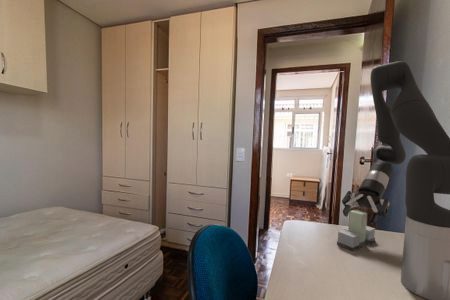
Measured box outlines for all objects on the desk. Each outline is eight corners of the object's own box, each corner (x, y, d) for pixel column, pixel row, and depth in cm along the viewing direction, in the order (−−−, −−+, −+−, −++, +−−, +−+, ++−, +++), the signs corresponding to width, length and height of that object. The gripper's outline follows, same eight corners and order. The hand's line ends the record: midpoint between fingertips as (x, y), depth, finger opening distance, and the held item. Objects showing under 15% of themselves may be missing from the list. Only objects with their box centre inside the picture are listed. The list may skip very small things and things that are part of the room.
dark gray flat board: (374, 240, 81) (375, 238, 81) (353, 251, 72) (353, 248, 72) (358, 235, 85) (359, 232, 85) (336, 244, 76) (336, 241, 76)
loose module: (365, 240, 78) (367, 212, 78) (359, 242, 76) (361, 214, 75) (353, 236, 81) (355, 209, 81) (347, 238, 79) (349, 211, 79)
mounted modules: (374, 237, 81) (375, 228, 81) (352, 247, 72) (353, 237, 72) (359, 232, 85) (360, 223, 85) (337, 241, 76) (338, 231, 76)
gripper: (351, 175, 88) (333, 207, 82) (394, 181, 76) (377, 219, 70) (357, 187, 91) (340, 218, 85) (398, 195, 79) (382, 232, 73)
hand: (357, 219), depth 78 cm, fingers open, 8 cm apart
